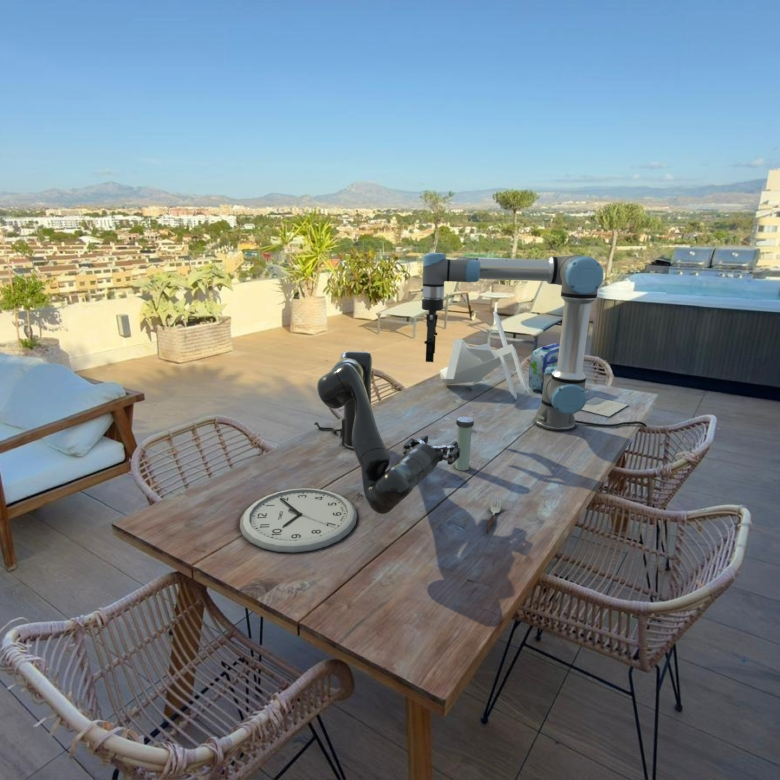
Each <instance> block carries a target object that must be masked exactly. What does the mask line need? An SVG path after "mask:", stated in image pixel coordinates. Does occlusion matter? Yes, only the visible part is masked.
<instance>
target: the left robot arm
mask: <svg viewBox="0 0 780 780" xmlns="http://www.w3.org/2000/svg"><path fill="white" fill-rule="evenodd" d="M372 358H373V356H372V354H371V352H369V351H357V350H356V351H354V350H353V351H351V350H349V351H348V350H347V351H344V352H342V353H341V355H340V357H339V360H338V361H337V362H336V363H335V364H334V365H333V366H332V368H331V370H330V371H328V372H327V373H325V374H324V375H322V376H321V377H320V378H319V379H318V381H317V383H316V389H317V393H318V396H319V398H320V400H321V402H322V403H323V404H324V405H325V406H327V407H328V408H330V409H333V410H337V409H340V408H343V418H341V428H337V429H335V428H333V427H323V426H321V425H320V424H319V422H318V421H317V422H314V423H313V425H314V426H316V427H317V428H318V429H319V430H322V431H327V430H330V431H332V432H333V434H336V433H337V432H339V436H340V437H341V445H342V446H344V447H345V448H347V449H351V450H353V451H354V454H355V456H356V459H357V461H358V463H359V466H360V469H361V479H362V487H363V494H364V497H365V500H366V503H367V505H368V506H369V508H371V509H372V510H373V511H374V512H375V513H377V514H380V515H385V514H388V513H390V512H391V511H392V510H394V508H396V507H397V506H398V505H399V504H400V503H401V502H402V501H404V499H406V498H407V496H409V494H410V493H412V491H413V489H414V488H416V487H417V486H418V485H419V483H420V482H422V481H423V480H425V479H426V478H427V477H428V476H429V475H430V473H432V471H434V470H435V468H436V467H437V466H438V464H439V462H442V461H445V462H447V465H453V464H454V463H456V460H457V459H458V458H459V457H460V448H458V443H457V440H453V442H452V443H451V444H450V445H445V444H442V445H438V446H437V445H432V444H428V443H429V435H427V434H425V435H424V436H421V437H420V438H417V439H415V438H413V437H412V438H409V439H408V440H407V441H406V442H405V443H404V444H403V449H402V451H403V456H401V458H400V460H398V461H397V462H396V463H394V465H393V466H391V467H390V468H388V467H389V466H390V463H391V457H390V453H389V452H388V450H387V447H386V445H385V443H384V440H383V438H382V437H381V434H380V431H379V430H378V427H377V423H376V420H375V416H374V412H373V408H372V370H373V359H372ZM448 451H449V452H448Z"/></svg>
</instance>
